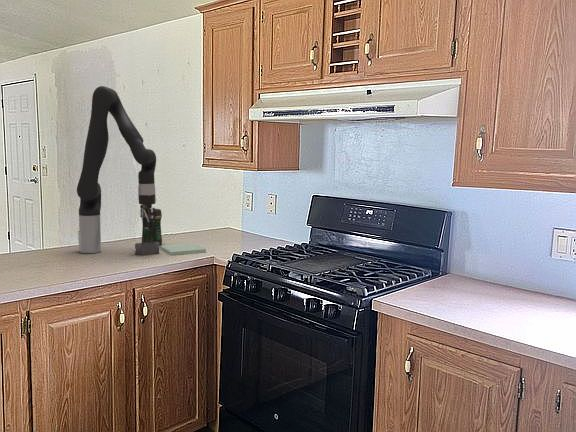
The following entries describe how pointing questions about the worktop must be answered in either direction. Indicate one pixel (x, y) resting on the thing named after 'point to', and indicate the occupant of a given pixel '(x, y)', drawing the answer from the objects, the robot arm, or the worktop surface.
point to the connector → (146, 248)
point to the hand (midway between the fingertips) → (147, 228)
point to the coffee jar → (156, 232)
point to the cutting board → (182, 249)
